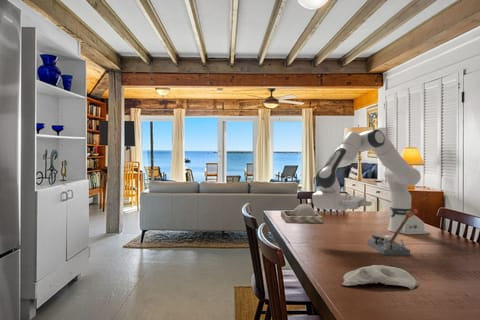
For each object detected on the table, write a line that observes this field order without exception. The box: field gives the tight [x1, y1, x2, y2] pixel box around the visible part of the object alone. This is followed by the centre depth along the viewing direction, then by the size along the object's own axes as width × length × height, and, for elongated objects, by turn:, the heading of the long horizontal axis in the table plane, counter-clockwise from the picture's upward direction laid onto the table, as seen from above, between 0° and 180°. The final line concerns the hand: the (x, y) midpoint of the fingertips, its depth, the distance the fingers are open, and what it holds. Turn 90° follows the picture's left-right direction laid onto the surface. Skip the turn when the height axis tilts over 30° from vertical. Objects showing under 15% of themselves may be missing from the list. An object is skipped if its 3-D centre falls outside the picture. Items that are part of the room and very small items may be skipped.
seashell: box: [292, 203, 316, 216], centre depth 254 cm, size 15×14×15 cm
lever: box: [389, 211, 413, 246], centre depth 169 cm, size 3×4×20 cm
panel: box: [367, 238, 411, 256], centre depth 176 cm, size 12×20×5 cm, turn 1°
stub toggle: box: [400, 239, 407, 249], centre depth 168 cm, size 1×2×4 cm, turn 148°
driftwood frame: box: [280, 210, 323, 224], centre depth 253 cm, size 24×24×4 cm
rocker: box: [371, 234, 385, 241], centre depth 182 cm, size 5×3×1 cm, turn 91°
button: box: [384, 235, 393, 242], centre depth 182 cm, size 3×3×2 cm
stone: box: [341, 264, 419, 290], centre depth 132 cm, size 28×7×15 cm
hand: (371, 203), depth 177 cm, fingers closed
